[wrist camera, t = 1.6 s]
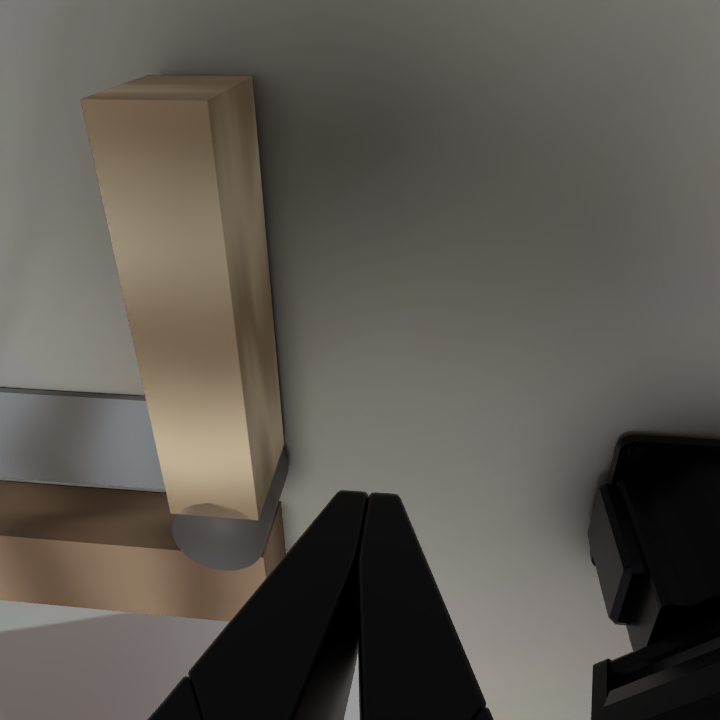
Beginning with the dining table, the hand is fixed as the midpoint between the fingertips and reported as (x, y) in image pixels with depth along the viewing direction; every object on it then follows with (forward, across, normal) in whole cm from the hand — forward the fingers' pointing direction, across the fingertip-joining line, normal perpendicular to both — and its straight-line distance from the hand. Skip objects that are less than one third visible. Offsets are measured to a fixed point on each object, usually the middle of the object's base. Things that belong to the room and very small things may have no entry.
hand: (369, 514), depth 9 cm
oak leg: (+12, +6, +4) cm, 14 cm away
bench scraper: (+13, +14, +12) cm, 23 cm away
